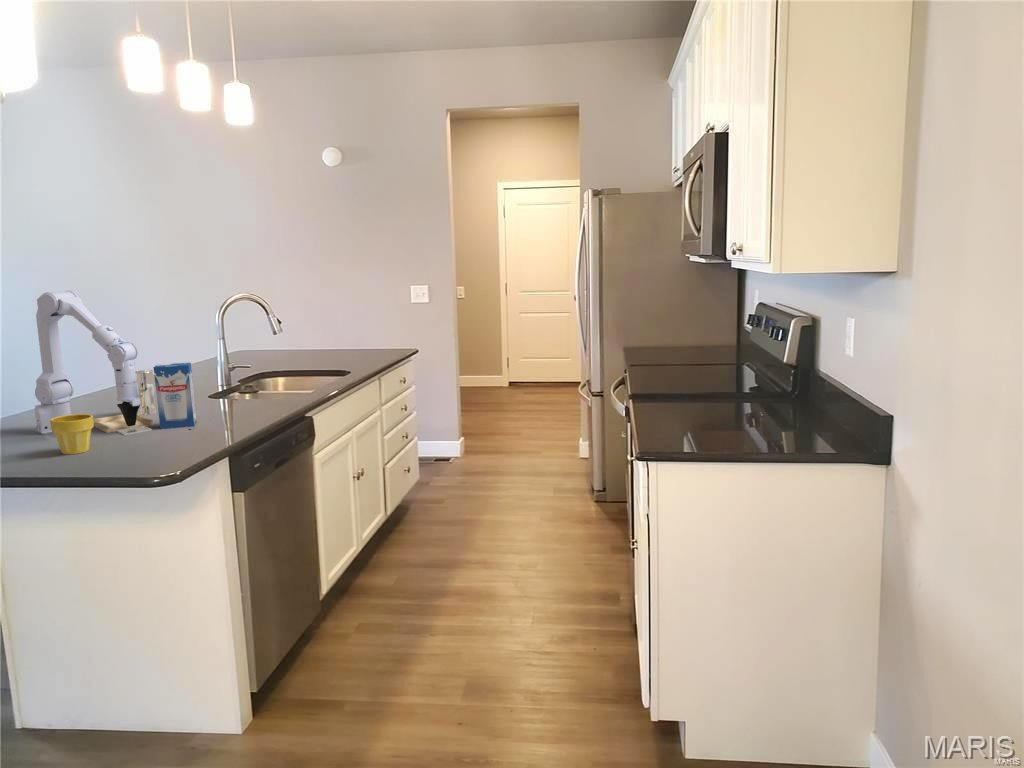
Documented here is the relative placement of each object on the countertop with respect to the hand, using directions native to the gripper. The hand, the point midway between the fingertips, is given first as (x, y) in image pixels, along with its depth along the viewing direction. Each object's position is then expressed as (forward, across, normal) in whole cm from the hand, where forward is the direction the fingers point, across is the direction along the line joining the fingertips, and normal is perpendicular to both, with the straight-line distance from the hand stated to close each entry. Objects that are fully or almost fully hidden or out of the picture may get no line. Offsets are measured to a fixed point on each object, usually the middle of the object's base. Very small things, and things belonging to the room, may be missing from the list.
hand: (131, 425), depth 233 cm
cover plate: (+2, -2, 0) cm, 3 cm away
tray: (+2, +10, 0) cm, 10 cm away
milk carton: (+2, -6, -12) cm, 14 cm away
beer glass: (+2, +23, -12) cm, 26 cm away
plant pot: (+2, -13, +19) cm, 23 cm away
